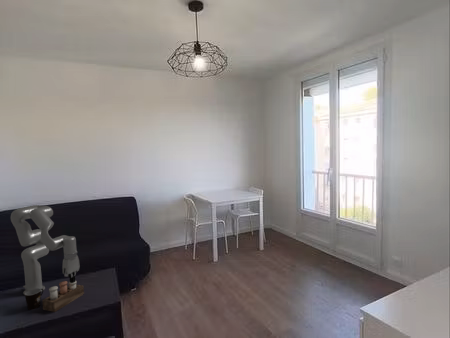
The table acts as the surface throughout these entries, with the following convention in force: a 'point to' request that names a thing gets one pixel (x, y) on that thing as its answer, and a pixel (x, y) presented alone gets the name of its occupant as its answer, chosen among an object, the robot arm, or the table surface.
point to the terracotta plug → (63, 287)
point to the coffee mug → (33, 298)
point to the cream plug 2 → (72, 285)
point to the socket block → (63, 299)
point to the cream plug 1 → (53, 293)
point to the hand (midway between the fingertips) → (72, 282)
